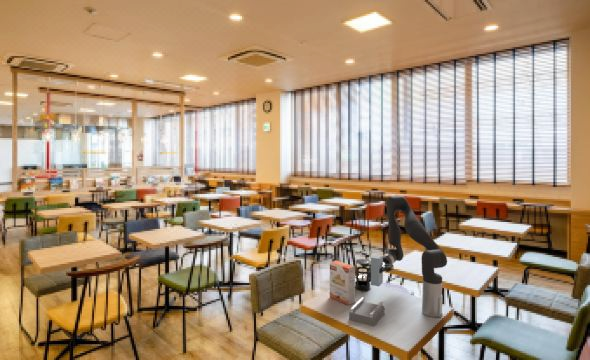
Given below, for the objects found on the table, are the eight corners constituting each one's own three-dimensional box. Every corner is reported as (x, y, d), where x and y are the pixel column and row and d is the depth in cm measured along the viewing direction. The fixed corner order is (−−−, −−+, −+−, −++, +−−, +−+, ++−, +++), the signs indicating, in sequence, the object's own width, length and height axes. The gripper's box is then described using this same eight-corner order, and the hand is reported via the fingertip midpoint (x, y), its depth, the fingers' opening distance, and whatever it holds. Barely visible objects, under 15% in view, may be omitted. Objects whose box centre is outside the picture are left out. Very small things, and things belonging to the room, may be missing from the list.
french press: (361, 292, 206) (362, 255, 204) (350, 287, 214) (350, 251, 212) (375, 288, 213) (376, 251, 210) (364, 283, 220) (364, 247, 218)
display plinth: (384, 313, 180) (384, 302, 180) (374, 326, 168) (374, 314, 167) (360, 307, 187) (360, 296, 187) (349, 319, 175) (349, 308, 174)
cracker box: (329, 297, 200) (329, 262, 198) (336, 294, 204) (336, 259, 202) (348, 305, 190) (348, 268, 188) (355, 302, 194) (355, 265, 192)
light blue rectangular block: (382, 282, 189) (382, 255, 188) (379, 286, 184) (379, 258, 183) (374, 281, 192) (374, 254, 190) (370, 284, 187) (370, 257, 185)
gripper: (373, 253, 203) (362, 261, 189) (398, 257, 195) (388, 265, 181) (373, 265, 204) (362, 275, 189) (398, 270, 196) (388, 279, 182)
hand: (375, 270), depth 185 cm, fingers closed on light blue rectangular block, 4 cm apart
